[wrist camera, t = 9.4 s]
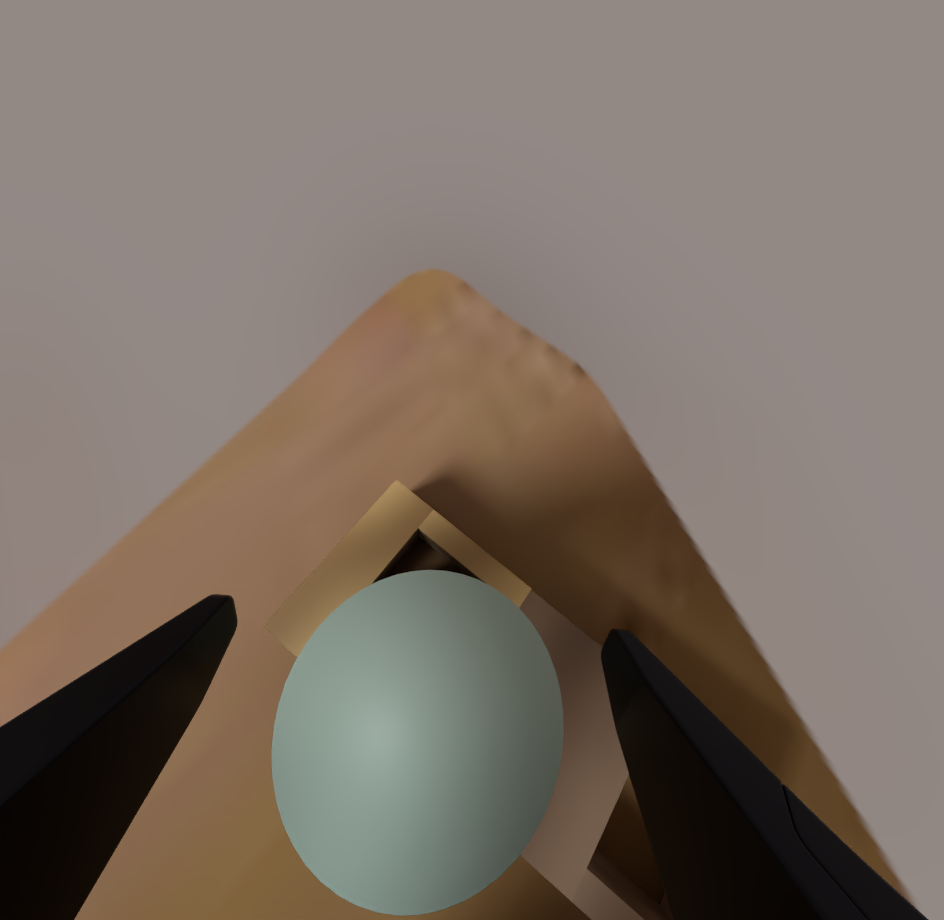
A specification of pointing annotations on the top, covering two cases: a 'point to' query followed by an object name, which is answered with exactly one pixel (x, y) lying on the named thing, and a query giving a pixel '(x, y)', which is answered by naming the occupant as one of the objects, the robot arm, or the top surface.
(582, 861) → the brown slotted board
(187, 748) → the top surface
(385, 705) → the post
